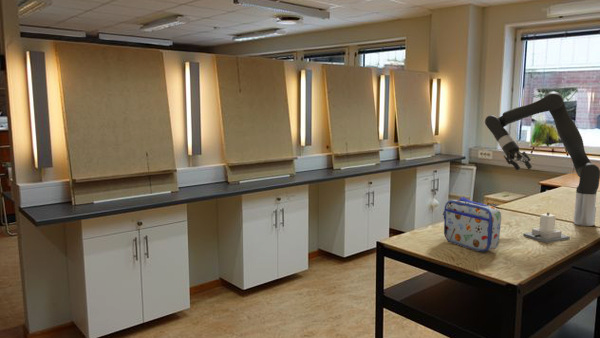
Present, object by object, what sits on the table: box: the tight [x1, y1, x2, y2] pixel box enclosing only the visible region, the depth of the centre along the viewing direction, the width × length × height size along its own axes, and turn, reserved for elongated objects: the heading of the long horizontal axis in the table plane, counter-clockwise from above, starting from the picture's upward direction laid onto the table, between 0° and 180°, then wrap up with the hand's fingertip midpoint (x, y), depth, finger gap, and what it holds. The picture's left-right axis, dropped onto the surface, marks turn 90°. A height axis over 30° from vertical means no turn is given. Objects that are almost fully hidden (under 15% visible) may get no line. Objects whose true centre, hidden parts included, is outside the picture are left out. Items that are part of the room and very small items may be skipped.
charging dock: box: [522, 227, 571, 244], centre depth 225 cm, size 16×13×4 cm
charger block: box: [538, 212, 556, 233], centre depth 224 cm, size 5×5×11 cm
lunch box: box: [442, 196, 502, 252], centre depth 211 cm, size 28×10×22 cm, turn 32°
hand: (524, 168), depth 242 cm, fingers open, 8 cm apart
